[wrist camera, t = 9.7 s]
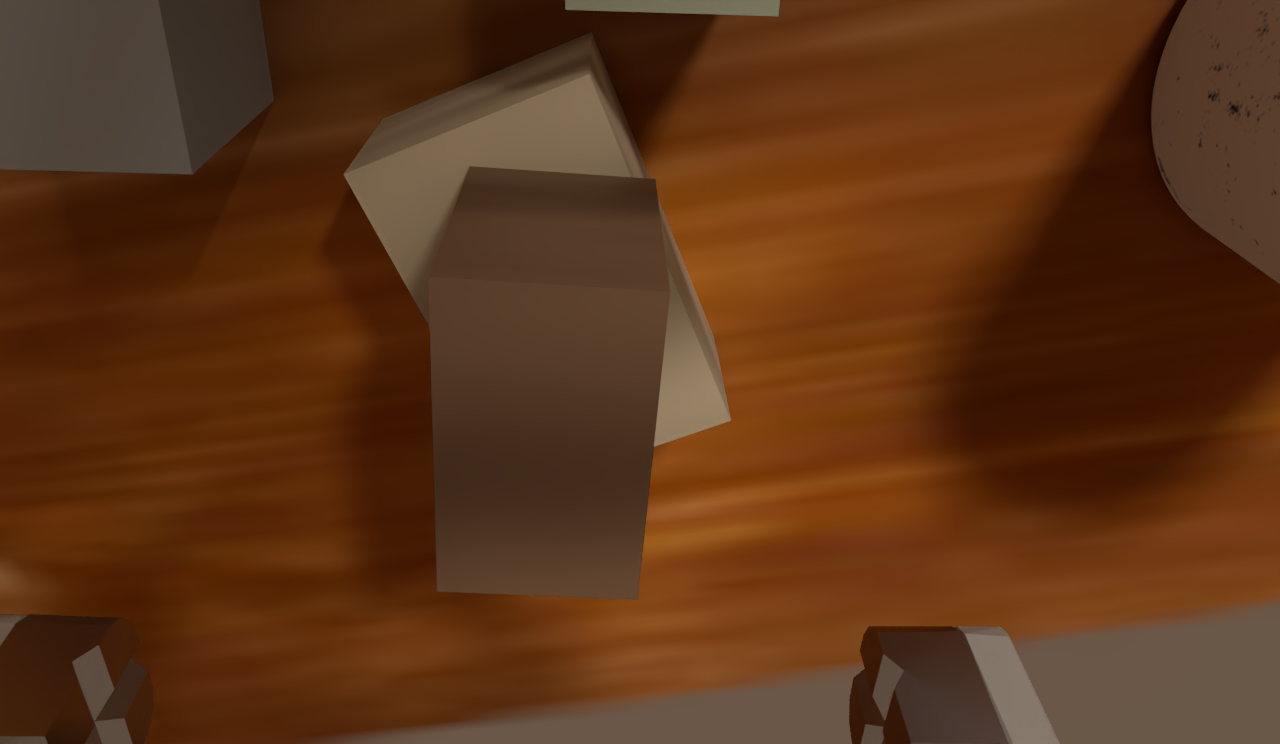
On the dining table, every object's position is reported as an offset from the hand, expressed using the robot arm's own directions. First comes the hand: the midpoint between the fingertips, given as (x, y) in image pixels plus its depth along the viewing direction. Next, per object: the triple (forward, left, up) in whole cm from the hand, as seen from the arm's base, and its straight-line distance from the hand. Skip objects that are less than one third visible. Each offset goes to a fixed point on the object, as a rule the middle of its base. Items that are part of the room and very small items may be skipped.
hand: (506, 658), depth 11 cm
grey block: (-5, -8, -14) cm, 17 cm away
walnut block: (+1, 0, -10) cm, 10 cm away
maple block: (+1, 0, -14) cm, 14 cm away
